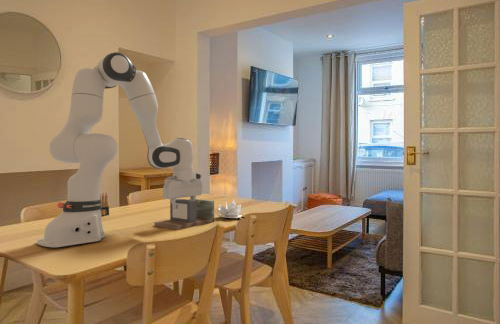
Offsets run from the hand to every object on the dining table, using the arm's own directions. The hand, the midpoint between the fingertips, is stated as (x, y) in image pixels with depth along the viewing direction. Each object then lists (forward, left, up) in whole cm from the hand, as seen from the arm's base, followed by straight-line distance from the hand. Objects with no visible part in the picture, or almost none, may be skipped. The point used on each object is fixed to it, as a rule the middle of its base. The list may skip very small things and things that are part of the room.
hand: (183, 207), depth 158 cm
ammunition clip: (-13, +44, -8) cm, 46 cm away
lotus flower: (+24, -6, -8) cm, 26 cm away
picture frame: (0, 0, -6) cm, 6 cm away
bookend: (+1, 0, -7) cm, 7 cm away
